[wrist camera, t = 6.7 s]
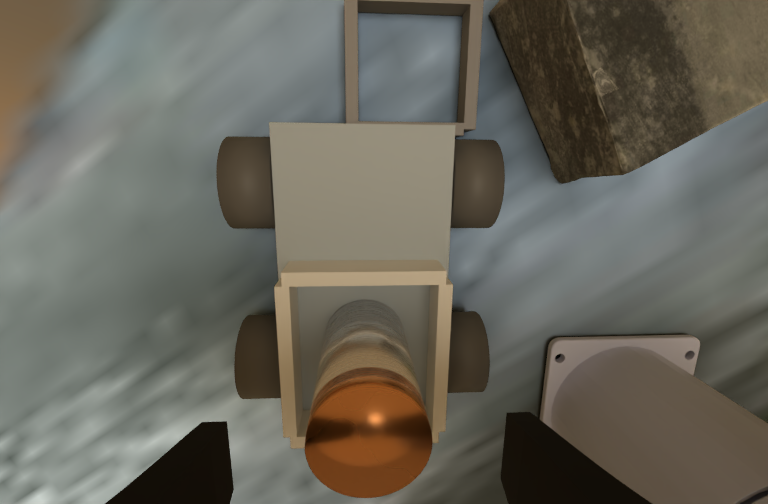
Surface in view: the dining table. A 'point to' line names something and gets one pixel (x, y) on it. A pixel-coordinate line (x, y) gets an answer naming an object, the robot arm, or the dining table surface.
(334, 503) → the dining table surface
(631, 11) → the stone block
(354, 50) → the trolley
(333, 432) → the canister with orange lid
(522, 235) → the dining table surface
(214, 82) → the dining table surface
